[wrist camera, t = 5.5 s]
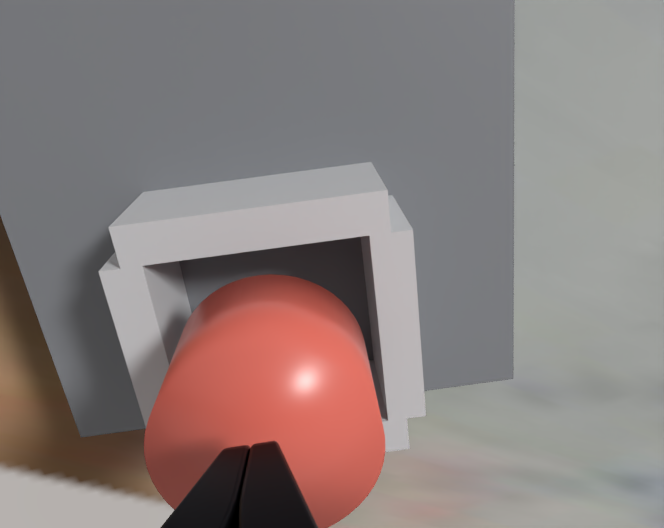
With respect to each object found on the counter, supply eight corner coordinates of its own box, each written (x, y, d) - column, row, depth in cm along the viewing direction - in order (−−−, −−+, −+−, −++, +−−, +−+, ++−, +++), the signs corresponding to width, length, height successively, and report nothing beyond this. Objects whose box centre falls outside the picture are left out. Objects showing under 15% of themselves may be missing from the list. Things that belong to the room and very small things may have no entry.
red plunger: (200, 446, 14) (174, 555, 11) (158, 288, 12) (115, 367, 9) (374, 423, 14) (394, 525, 11) (355, 262, 12) (374, 332, 9)
